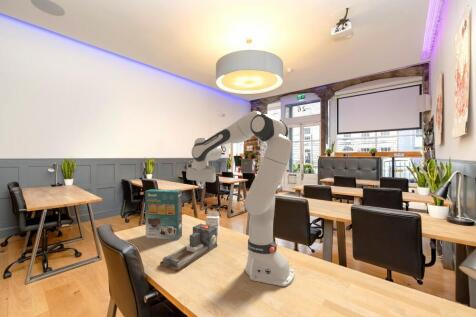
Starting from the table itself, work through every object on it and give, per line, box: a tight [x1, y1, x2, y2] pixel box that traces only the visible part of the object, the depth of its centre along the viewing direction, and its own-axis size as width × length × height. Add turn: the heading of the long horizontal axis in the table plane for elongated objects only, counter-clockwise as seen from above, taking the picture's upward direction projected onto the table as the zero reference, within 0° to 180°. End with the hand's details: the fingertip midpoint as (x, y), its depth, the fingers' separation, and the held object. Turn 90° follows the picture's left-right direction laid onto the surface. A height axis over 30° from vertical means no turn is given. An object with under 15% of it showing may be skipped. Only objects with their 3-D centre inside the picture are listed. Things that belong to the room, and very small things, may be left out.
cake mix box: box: [144, 188, 183, 241], centre depth 140 cm, size 22×6×30 cm, turn 82°
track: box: [159, 223, 218, 273], centre depth 116 cm, size 12×31×12 cm, turn 150°
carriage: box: [186, 232, 203, 253], centre depth 119 cm, size 7×6×8 cm
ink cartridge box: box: [205, 210, 220, 236], centre depth 146 cm, size 9×5×15 cm, turn 84°
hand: (200, 188), depth 131 cm, fingers closed
